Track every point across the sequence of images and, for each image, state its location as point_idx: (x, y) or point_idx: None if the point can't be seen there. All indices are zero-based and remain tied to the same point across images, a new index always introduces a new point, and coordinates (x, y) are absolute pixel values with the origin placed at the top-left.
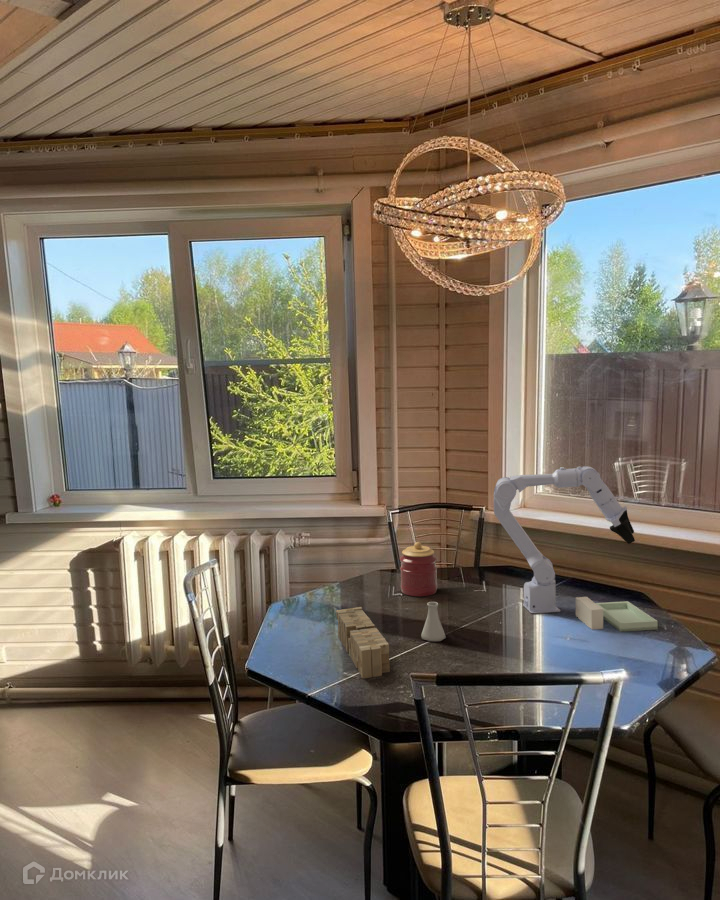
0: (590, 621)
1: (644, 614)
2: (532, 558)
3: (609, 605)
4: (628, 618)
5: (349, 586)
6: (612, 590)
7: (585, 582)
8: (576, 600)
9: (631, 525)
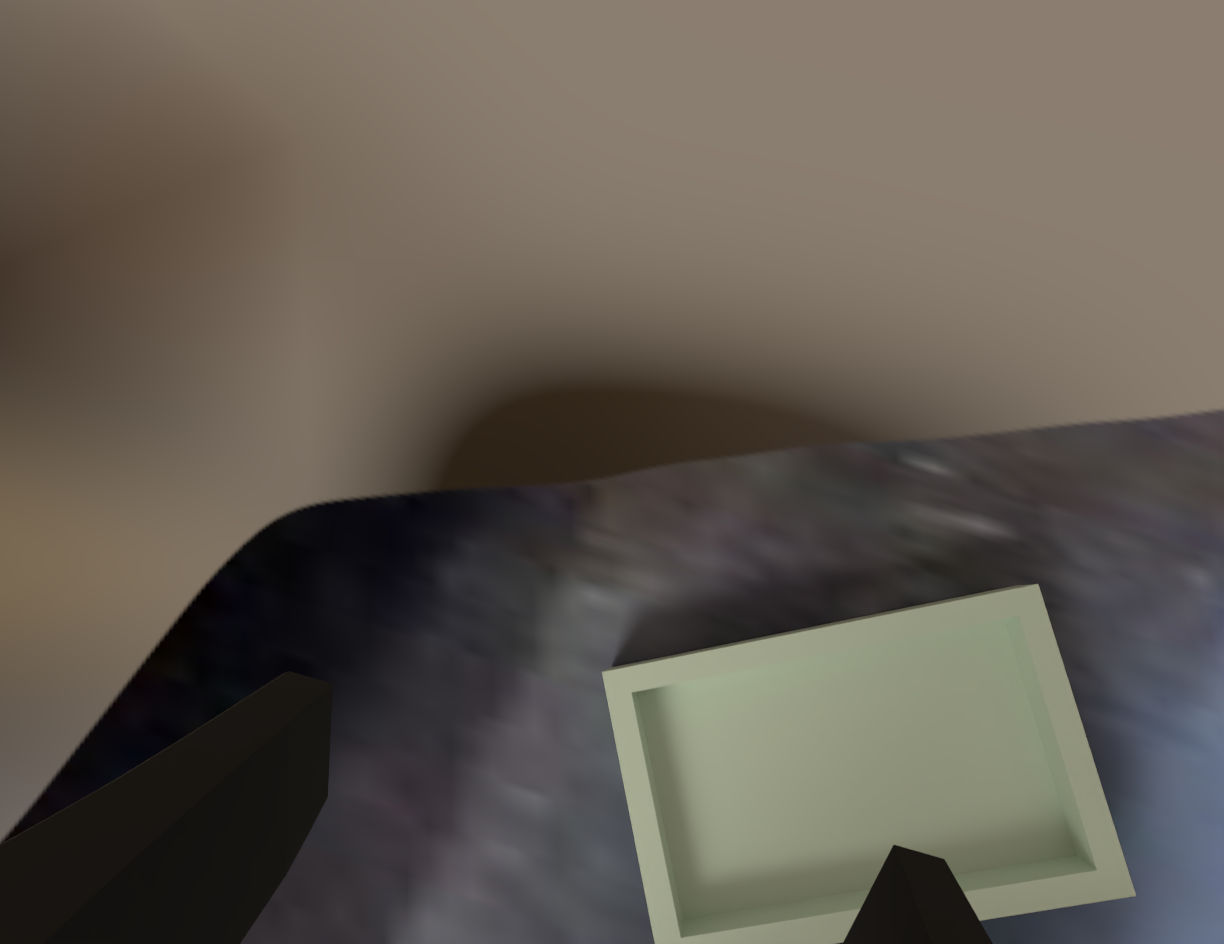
0: None
1: (899, 637)
2: None
3: (662, 833)
4: (867, 743)
5: None
6: (226, 659)
7: (42, 811)
8: None
9: (159, 773)
